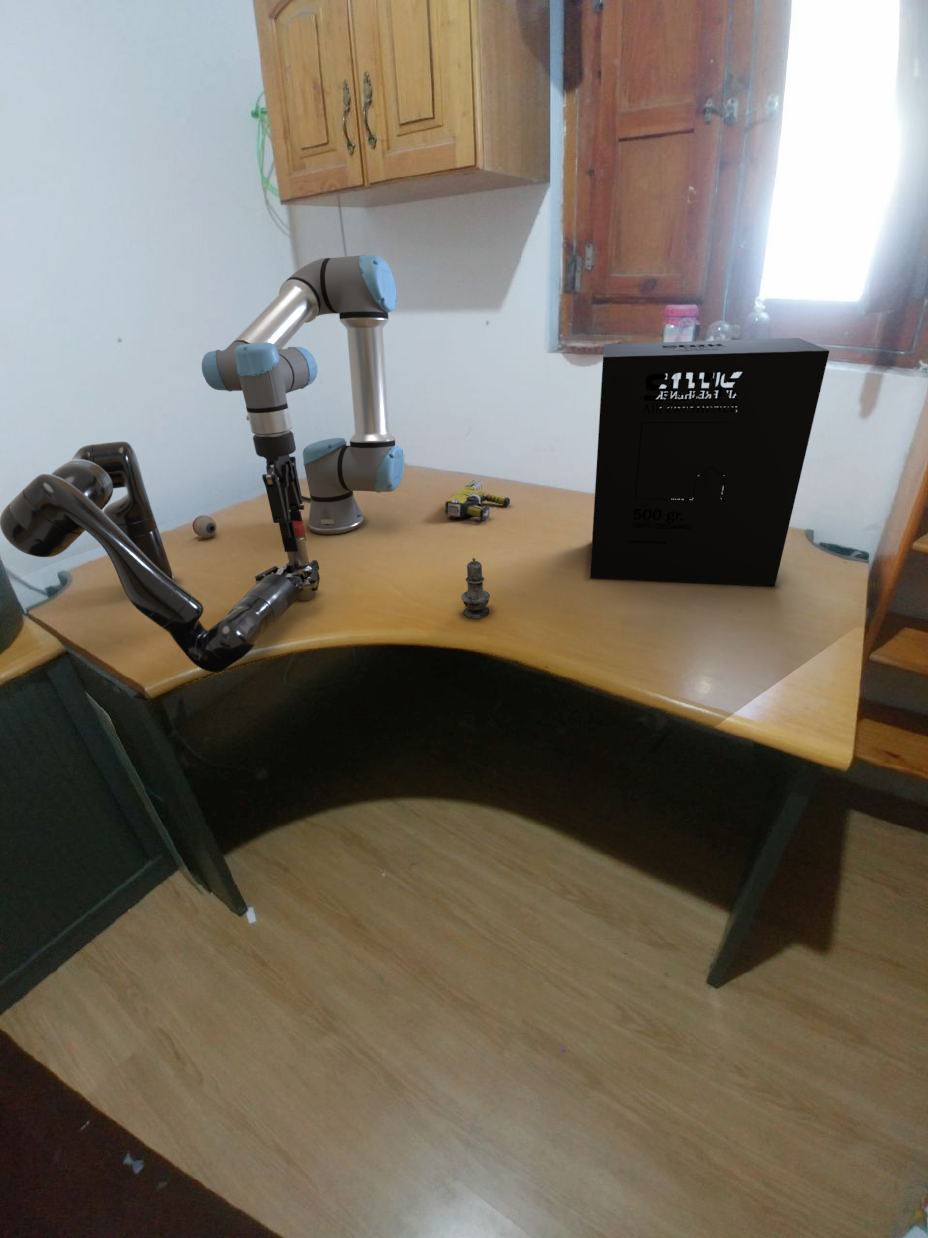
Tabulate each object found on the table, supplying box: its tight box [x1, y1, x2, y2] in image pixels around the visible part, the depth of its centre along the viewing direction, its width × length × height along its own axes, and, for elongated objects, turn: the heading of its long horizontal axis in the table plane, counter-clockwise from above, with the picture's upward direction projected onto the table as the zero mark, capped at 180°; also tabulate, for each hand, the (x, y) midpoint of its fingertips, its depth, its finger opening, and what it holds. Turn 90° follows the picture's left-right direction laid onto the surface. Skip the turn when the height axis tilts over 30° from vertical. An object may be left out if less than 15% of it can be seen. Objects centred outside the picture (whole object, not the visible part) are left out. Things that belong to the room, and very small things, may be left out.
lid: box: [279, 521, 306, 539], centre depth 124 cm, size 5×5×2 cm
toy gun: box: [444, 480, 511, 521], centre depth 175 cm, size 5×24×15 cm
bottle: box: [286, 536, 317, 602], centre depth 128 cm, size 4×4×16 cm
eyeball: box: [192, 514, 217, 538], centre depth 165 cm, size 6×6×6 cm
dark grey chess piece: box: [460, 557, 491, 619], centre depth 119 cm, size 6×6×12 cm
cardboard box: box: [589, 337, 830, 587], centre depth 126 cm, size 38×20×45 cm, turn 78°
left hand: (305, 563), depth 131 cm, fingers closed on bottle, 4 cm apart
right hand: (295, 545), depth 126 cm, fingers closed on lid, 5 cm apart
